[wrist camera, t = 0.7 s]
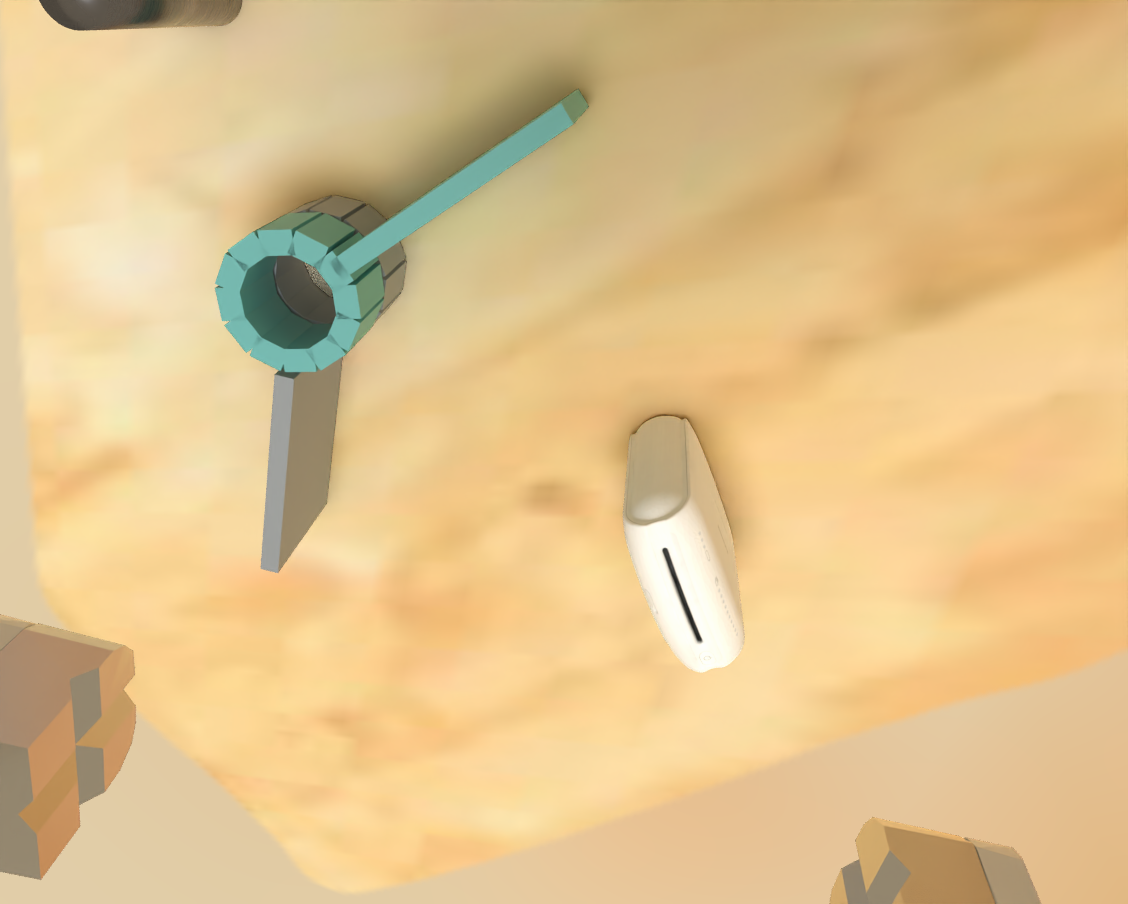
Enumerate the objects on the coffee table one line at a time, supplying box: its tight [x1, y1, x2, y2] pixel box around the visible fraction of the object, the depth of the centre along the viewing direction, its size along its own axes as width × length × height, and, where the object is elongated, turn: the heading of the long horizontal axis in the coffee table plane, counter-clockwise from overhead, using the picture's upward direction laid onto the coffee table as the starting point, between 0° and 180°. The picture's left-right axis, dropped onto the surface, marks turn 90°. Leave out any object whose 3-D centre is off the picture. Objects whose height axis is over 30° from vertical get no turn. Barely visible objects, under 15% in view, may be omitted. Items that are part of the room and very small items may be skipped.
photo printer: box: [623, 416, 744, 672], centre depth 49 cm, size 10×4×12 cm, turn 21°
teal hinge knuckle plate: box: [215, 89, 589, 372], centre depth 45 cm, size 20×7×8 cm, turn 123°
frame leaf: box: [261, 195, 407, 573], centre depth 50 cm, size 20×7×8 cm, turn 168°
